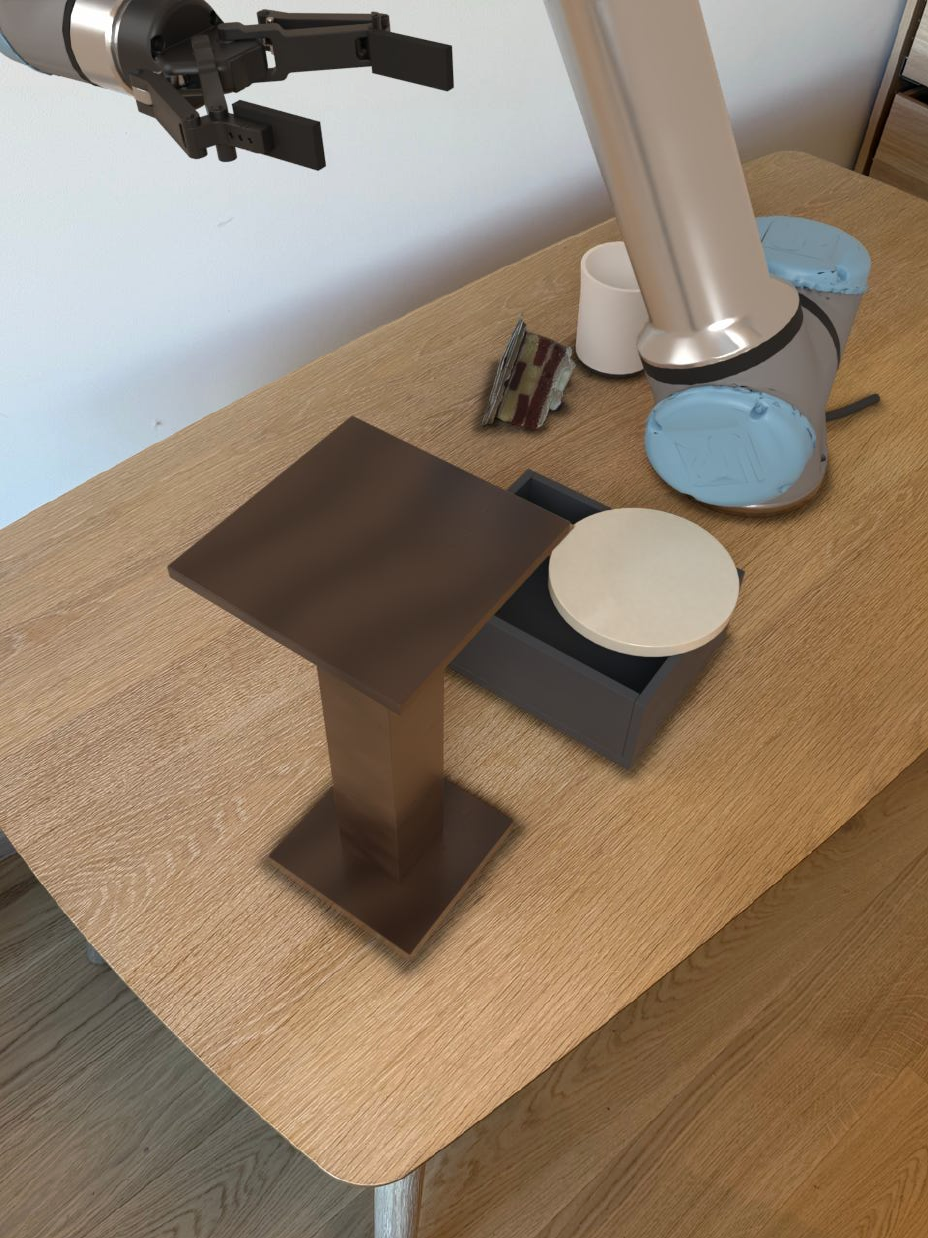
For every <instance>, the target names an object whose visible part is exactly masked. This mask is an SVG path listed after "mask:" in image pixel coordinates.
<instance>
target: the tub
mask: <svg viewBox="0 0 928 1238" xmlns="http://www.w3.org/2000/svg"><path fill="white" fill-rule="evenodd" d="M505 490H506V491H508V492H510V493H512V494H514V495H516V496H518V497H521V498H523V499H525V500H527V501H529V502H531V503H533V504H535V505H537V506H539V507H541V508H543V509H545V510H547V511H549V512H551V513H553V514H555V515H557V516H560V517H562V518H564V519H566V520H568V521H570V523H571V524H573V525H574V524H576V523H577V522H579V521H581V520H582V519H584V518H586V517H588V516H591V515H593V514H596V513H599V512H603V511H607V510H612V509H614V508H613V507H610V506H608V505H607V504H604V503H603V502H600V501H598V500H596V499H594V498H591V497H589V496H588V495H585V494H583V493H581V492H579V491H577V490H575V489H573V488H571V487H568V486H566V485H564V484H562V483H560V482H558V481H556V480H553V479H552V478H549V477H548V476H545V475H543V474H541V473H539V472H536V471H534V470H533V469H531V468H527V469H526V470H525V471H524V472H523V473H522V474H520V476H519V477H518V478H517V479H516V480H515V481H514V482H512V484H511V485H510V486H509V487H508V488H506V489H505ZM549 561H550V556H547V557H546V559H545V560H544V561H543V562H542V563H541V564H540V565H539V566H538V567H537V568H536V569H535V571H534V572H533V573H532V574H531V575H530V576H529V577H528V578H527V579H526V580H525V581H524V583H523V584H522V585H521V586H520V587H519V588H518V589H517V590H516V591H515V592H514V593H513V595H512V596H511V597H510V598H509V599H508V600H507V601H506V602H505V603H504V604H503V605H502V606H501V608H500V609H499V610H498V611H497V612H496V613H495V614H494V615H493V616H492V617H491V618H490V620H489V621H488V622H487V623H486V624H485V625H484V626H483V627H482V628H481V629H480V630H479V632H478V633H477V634H476V635H475V636H474V637H473V638H472V639H471V640H470V641H469V642H468V644H467V645H466V646H465V647H464V648H463V649H462V650H461V651H460V652H459V653H458V654H457V656H456V657H455V658H454V659H453V660H452V661H451V662H450V663H449V664H448V665H447V666H446V668H449V669H450V670H452V671H454V672H456V673H457V674H459V675H461V676H463V677H464V678H465V679H468V680H469V681H472V682H473V683H475V684H477V685H479V686H480V687H482V688H483V689H485V690H487V691H489V692H491V693H493V694H494V695H496V696H498V697H500V698H501V699H503V700H505V701H506V702H508V703H510V704H512V705H514V706H516V707H517V708H519V709H520V710H522V711H523V712H525V713H527V714H528V715H531V716H532V717H534V718H536V719H537V720H540V721H542V722H543V723H545V724H546V725H549V726H550V727H552V728H554V729H555V730H557V731H559V732H561V733H562V734H563V735H566V736H568V737H569V738H571V739H572V740H574V741H577V742H578V743H580V744H582V745H584V746H585V747H587V748H588V749H590V750H592V751H594V752H595V753H597V754H599V755H601V756H602V757H604V758H606V759H608V760H610V761H611V762H613V763H615V764H617V765H618V766H620V767H622V768H623V769H625V770H627V771H631V770H632V768H633V766H635V764H636V762H637V761H638V759H640V758H641V756H642V754H643V753H644V751H645V750H646V749H647V747H648V746H649V744H650V743H651V742H652V740H653V739H654V737H655V736H656V735H657V733H658V732H659V731H660V730H661V728H662V726H663V725H664V723H665V722H666V721H667V719H669V716H670V715H671V714H672V712H673V711H674V710H675V708H676V707H677V705H678V704H679V703H680V701H681V700H682V699H683V697H684V696H685V695H686V693H687V692H688V691H689V689H690V687H691V686H692V684H693V683H694V682H695V681H696V679H697V678H698V676H699V675H700V674H701V672H702V671H703V669H704V668H705V666H707V664H708V663H709V661H710V660H711V658H712V657H713V656H714V655H715V653H716V651H717V650H718V649H719V647H720V646H721V644H722V643H723V642H724V640H725V638H726V635H727V632H728V629H729V625H730V623H731V620H730V621H729V623H728V624H727V625H726V627H725V628H724V629H723V630H722V632H720V633H719V634H718V635H717V636H716V637H715V638H714V639H712V640H711V641H709V642H708V643H706V644H705V645H703V646H701V647H698V648H696V649H694V650H691V651H688V652H685V653H682V654H677V655H672V656H663V657H643V656H634V655H629V654H624V653H620V652H616V651H613V650H610V649H607V648H605V647H603V646H600V645H598V644H596V643H594V642H592V641H591V640H589V639H587V638H585V637H584V636H583V635H581V634H580V633H578V632H577V631H576V630H575V629H573V628H572V627H571V626H570V625H569V624H568V623H567V622H566V621H565V619H564V618H563V617H562V616H561V615H560V613H559V612H558V610H557V608H556V607H555V605H554V603H553V600H552V598H551V595H550V591H549V587H548V571H549ZM735 567H736V566H735ZM736 569H737V573H738V577H739V591H740V590H741V587H742V584H743V581H744V577H745V575H746V570H743V569H741V568H739V567H736Z"/></svg>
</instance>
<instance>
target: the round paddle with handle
mask: <svg viewBox="0 0 928 1238" xmlns="http://www.w3.org/2000/svg"><path fill="white" fill-rule="evenodd" d="M548 556H550V561H549V571H548V587H549V591H550V595H551V598H552V600H553V603H554V605H555V607H556V608H557V610H558V612H559V613H560V615H561V616H562V617H563V618H564V619H565V621H566V622H567V623H568V624H569V625H570V626H571V627H572V628H573V629H575V630H576V631H577V632H578V633H580V634H581V635H583V636H584V637H585V638H587V639H589V640H591V641H592V642H594V643H596V644H598V645H600V646H603V647H605V648H607V649H610V650H613V651H616V652H620V653H624V654H629V655H634V656H643V657H663V656H672V655H677V654H682V653H685V652H688V651H691V650H694V649H696V648H698V647H701V646H703V645H705V644H706V643H708V642H709V641H711V640H712V639H714V638H715V637H716V636H717V635H718V634H719V633H720V632H722V630H723V629H724V628H725V627H726V625H727V624H728V623H729V621H730V622H731V619H732V617H733V615H734V612H735V609H736V606H737V603H738V599H739V594H740V590H739V577H738V573H737V569H736V564H735V562H734V560H733V558H732V556H731V554H730V553H729V552H728V550H727V549H726V548H725V546H724V545H723V544H722V543H721V542H720V540H718V539H717V538H716V537H715V536H714V535H713V534H711V533H710V532H709V531H707V530H706V529H705V528H703V527H702V526H700V525H699V524H697V523H695V522H694V521H691V520H689V519H687V518H685V517H682V516H679V515H677V514H674V513H671V512H667V511H664V510H659V509H653V508H645V507H621V508H613V509H612V510H607V511H603V512H599V513H596V514H593V515H591V516H588V517H586V518H584V519H582V520H581V521H579V522H577V523H576V524H574V525H573V524H571V523H570V531H569V533H568V535H567V536H566V537H565V538H564V539H563V540H562V541H561V542H560V543H559V544H558V545H557V547H556V548H555V549H554V550H553V551H552V552H551V553H550V554H549V555H548ZM729 624H730V623H729Z"/></svg>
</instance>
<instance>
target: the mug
mask: <svg viewBox="0 0 928 1238" xmlns="http://www.w3.org/2000/svg"><path fill="white" fill-rule="evenodd" d="M577 315H578V316H577V327H576V337H575V338H576V340H575V356H576V358H577V361H578V362H579V364H580V365H581V366H583V368H584V369H586V370H588V371H589V372H590V373H593V374H595V375H598V376H600V377H605V378H610V379H627V378H632V377H635V376H637V375H640V374H642V373H643V372H645V371H644V368H643V365H642V362H641V359H640V356H639V354H638V349H637V344H636V343H637V337H638V334H639V332H640V330H641V328H642V327H643V325H644V323H645V321H646V320H647V318H648V313H647V310H646V307H645V304H644V301H643V298H642V295H641V292H640V289H639V286H638V283H637V280H636V277H635V274H634V271H633V268H632V265H631V262H630V259H629V256H628V253H627V250H626V247H625V244H624V241H620V240H619V241H609V242H608V241H607V242H604V243H601V244H597V245H595V246H594V247H592V248H589V249H588V250H587V251H586V252H585V253H584V254H583V256H582V257H581V259H580V292H579V303H578V314H577Z"/></svg>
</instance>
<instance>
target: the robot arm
mask: <svg viewBox="0 0 928 1238" xmlns="http://www.w3.org/2000/svg"><path fill="white" fill-rule="evenodd" d="M542 2H543V5H544V8H545V11H546V14H547V17H548V20H549V24H550V26H551V29H552V31H553V35H554V38H555V41H556V44H557V47H558V49H559V53H560V56H561V58H562V59H561V60H562V62H563V65H564V68H565V72H566V75H567V77H568V79H569V83H570V86H571V89H572V92H573V95H574V97H575V98H574V99H575V101H576V104H577V107H578V110H579V113H580V116H581V119H582V123H583V124H584V128H585V131H586V134H587V136H588V139H589V143H590V145H591V149H592V151H593V154H594V157H595V162H596V164H597V167H598V169H599V172H600V176H601V179H602V181H603V184H604V187H605V190H606V193H607V196H608V199H609V203H610V206H611V208H612V212H613V215H614V218H615V220H616V224H617V226H618V230H619V233H620V235H621V238H622V242H624V244H625V247H626V250H627V253H628V256H629V259H630V262H631V265H632V268H633V271H634V274H635V277H636V280H637V283H638V286H639V289H640V292H641V295H642V298H643V301H644V304H645V307H646V310H647V313H648V318H647V320H646V321H645V323H644V325H643V327H642V328H641V330H640V332H639V334H638V337H637V343H636V344H637V349H638V354H639V356H640V359H641V362H642V365H643V368H644V371H643V372H644V373H645V377H646V379H647V382H648V385H649V389H650V391H651V394H652V397H653V403H654V406H653V408H651V410H650V412H649V414H648V416H647V417H646V419H645V431H644V436H643V444H644V451H645V454H646V456H647V460H648V461H649V463H650V465H651V466H652V468H653V469H654V471H655V472H656V474H657V475H658V476H659V477H660V478H661V479H662V480H663V481H664V482H665V483H666V484H667V485H669V486H670V487H672V489H674V490H675V491H677V492H679V493H680V494H683V495H684V496H686V497H687V498H689V499H690V500H692V501H694V502H695V503H697V504H699V505H701V506H704V507H706V508H708V509H711V510H714V511H717V512H721V513H723V514H728V515H731V516H732V515H733V516H740V517H748V518H749V517H753V518H757V517H758V518H760V517H761V518H763V517H771V516H778V515H783V514H785V513H789V512H791V511H794V510H796V509H799V508H800V507H802V506H803V505H805V504H807V503H808V502H809V501H810V500H811V499H813V497H814V496H815V495H816V494H817V493H818V491H819V490H820V488H821V486H822V483H823V480H824V477H825V475H826V472H827V468H828V460H829V450H828V444H827V440H828V439H827V437H828V435H827V423H828V422H831V421H835V420H839V419H843V418H845V417H848V416H851V415H853V414H855V413H858V412H860V411H862V410H864V409H867V408H869V407H872V406H873V405H875V404H878V403H879V402H880V401H881V397H880V394H878V393H873V394H871V395H868V396H866V397H864V398H862V399H860V400H857V401H855V402H853V403H850V404H848V405H846V406H843V407H840V408H837V409H834V410H830V411H826V408H827V406H828V403H829V399H830V396H831V393H832V390H833V387H834V383H835V380H836V377H837V374H838V371H839V367H840V365H841V362H842V359H843V356H844V353H845V351H846V347H847V344H848V340H849V338H850V335H851V332H852V329H853V327H854V323H855V320H856V317H857V314H858V312H859V308H860V305H861V302H862V300H863V296H864V294H866V293H867V291H868V289H869V284H868V280H869V278H870V277H869V276H870V273H871V269H872V259H871V255H870V252H869V251H868V249H867V247H865V245H863V243H861V242H860V241H859V240H858V239H857V238H855V237H854V236H853V235H851V234H849V233H848V232H846V231H845V230H843V229H840V228H838V227H836V226H833V225H830V224H827V223H825V222H821V221H817V220H814V219H810V218H804V217H800V216H799V217H798V216H790V215H767V216H763V215H762V216H756V217H755V213H754V208H753V205H752V201H751V197H750V193H749V190H748V185H747V182H746V177H745V173H744V170H743V167H742V162H741V158H740V155H739V151H738V147H737V143H736V139H735V135H734V131H733V127H732V124H731V120H730V116H729V111H728V108H727V104H726V100H725V96H724V93H723V89H722V85H721V81H720V77H719V73H718V70H717V66H716V61H715V58H714V53H713V50H712V47H711V42H710V38H709V34H708V31H707V26H706V22H705V18H704V15H703V11H702V7H701V4H700V0H542ZM256 18H257V23H255V24H243V23H242V22H240V21H232V22H230V21H229V22H224V20H222V18H221V17H220V15H219V14H218V13H217V12H216V11H215V9H214V8H213V6H211V5H210V4H209V3H208V2H207V1H206V0H0V54H2V55H3V56H5V57H6V58H8V59H10V60H11V61H14V62H16V63H19V64H21V65H24V66H27V67H28V69H29V68H30V69H31V70H33V71H35V72H38V73H40V74H43V75H46V76H50V77H51V76H56V77H62V78H66V79H70V80H73V81H78V82H80V83H85V84H88V85H92V86H94V87H98V88H100V89H101V88H102V89H105V90H109V91H112V92H116V93H119V94H123V95H126V96H130V97H132V98H134V100H135V104H136V107H137V111H138V112H139V113H140V114H143V115H146V116H148V117H149V118H153V119H155V120H156V121H157V122H158V123H159V125H160V126H161V127H162V128H163V129H164V130H165V131H166V132H167V134H168V135H169V136H170V137H171V138H172V139H173V141H174V142H175V143H176V144H177V145H178V146H179V148H180V149H181V150H182V151H183V152H184V153H185V154H186V155H187V157H188V158H190V159H191V160H200V159H203V158H206V157H207V156H208V148H212V147H215V149H216V155H217V160H218V161H219V162H222V163H230V162H234V161H236V160H237V159H238V153H237V149H240V150H244V151H246V152H251V153H254V154H258V155H259V154H261V155H263V156H267V157H270V158H272V159H277V160H280V161H284V162H287V163H290V164H294V165H297V166H299V167H303V168H305V169H310V170H313V171H316V172H319V171H321V170H323V169H324V168H326V167H327V161H326V154H325V153H326V152H325V147H324V142H323V141H324V140H323V131H322V125H321V121H320V120H316V119H312V118H309V117H305V116H301V115H298V114H293V113H290V112H287V111H283V110H279V109H276V108H272V107H268V106H264V105H261V104H258V103H254V102H249V101H246V100H243V99H238V100H236V101H234V102H232V103H231V108H232V113H231V112H230V111H229V106H228V103H227V99H226V95H228V94H232V93H235V94H238V93H239V92H242V91H243V90H245V89H246V88H250V87H251V85H253V84H261V83H274V82H283V81H286V80H287V78H288V76H289V74H292V73H304V72H305V73H306V72H318V71H319V72H320V71H330V70H331V71H332V70H345V69H357V68H368V67H369V68H370V67H371V74H373V75H378V76H382V77H386V78H391V79H394V80H398V81H403V82H406V83H410V84H415V85H419V86H423V87H427V88H432V89H435V90H440V91H443V92H449V91H451V90H453V89H454V88H455V78H454V77H455V76H454V55H453V45H451V44H447V43H443V42H439V41H434V40H429V39H425V38H421V37H416V36H412V35H406V34H402V33H398V32H393V31H392V29H391V21H390V15H389V14H387V13H383V12H378V11H371V12H370V13H352V12H351V13H347V12H346V13H345V12H344V13H343V12H341V13H340V12H336V13H335V12H287V11H278V10H274V9H267V8H264V9H260V10H258V11H256ZM267 52H269V53H270V54H271V55H272V56H273V60H274V65H275V66H274V67H269V63H268V57H267ZM203 107H205V111H206V114H205V115H202V116H200V113H199V112H198V111H197V110H199V109H200V108H203Z"/></svg>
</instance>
